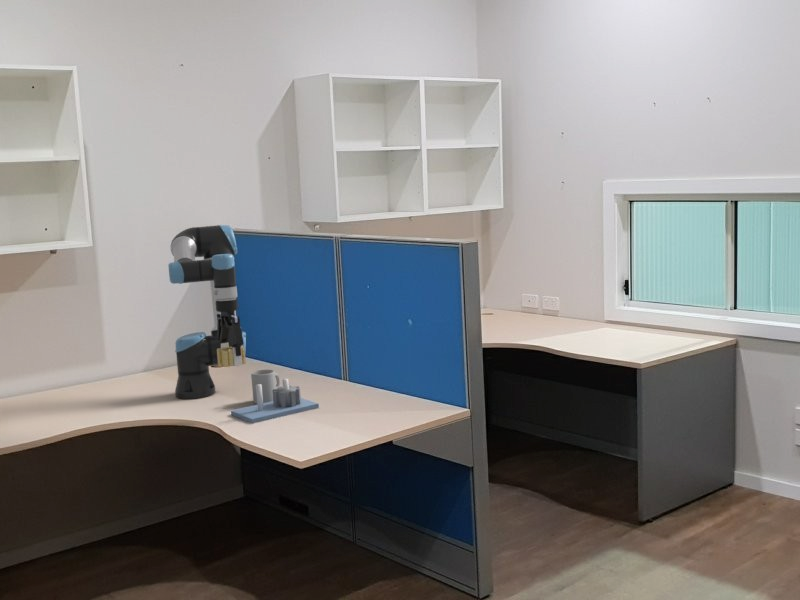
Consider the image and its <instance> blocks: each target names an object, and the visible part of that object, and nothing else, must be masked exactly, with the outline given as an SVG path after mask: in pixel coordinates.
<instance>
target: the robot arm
mask: <svg viewBox="0 0 800 600" xmlns="http://www.w3.org/2000/svg"><path fill="white" fill-rule="evenodd" d="M170 242H171V243H170V252H171V255H172V256H173V262H169V264H168V275H169V282H170V283H171V284H173V285H174V284H180V285H181V284H189V283H198V282H209V283H210V291H211V292H210V293H211V303H212V313H213V323H214V326H213V328H212V329H211V330H210V333H211V335H207V333H206V332H205V331H204V332H203V331H200V332H199V331H197V332H193V333H189V334H185V335H182V336H180V337H178V338H177V339H176V341H175V350H174V351H175V354H176V365H177V375H178V376H177V381H176V385H175V390H174V393H175V394H174V395H175V398H176V399H183V400H190V399H191V400H192V399H201V398H205V397H209V396H212V395H214V394H215V393H216V385H215V383H214V380H213V379H212V376H211V374H210V368H209V367H213V366H218V358H217V349H218V348H223V347H233V357H234V366H233V367H238V365H239V366H242V365H243V364H242V354H241V346H244V348H245V352H246V350H247V349H246V348H247V347H246V346H247V345H246V344H247V341H246V340H247V333H246V331H242V330H243V329H242V327H241V323H240V322H241V321H240V316H239V315H237V311H238V309H239V301H238V300H239V299H237V298H238V288H237V279H236V266H235V265H236V263H235V255H237V254H238V246H237V241H236V236H235V233H234V230H233V228H232V226H230V225H220V224H217V225H209V226H207V225H205V226H198V227H197V226H196V227H195V226H193V227H190V228H189V227H188V228H185V229H183V230H182V231H180V232H179V233H177V234H176V235H175V236H174V237H173V239H172V240H171V241H170ZM196 258H203V259H198V260H197V259H196Z"/></svg>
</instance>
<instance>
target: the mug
mask: <svg viewBox="0 0 800 600" xmlns="http://www.w3.org/2000/svg"><path fill="white" fill-rule="evenodd" d="M250 377H251V388H252V399H253V400H252V401H253V404H254V405H257V394H256V385H258V384H261V385H262V395H263V403H267V402H272V401H273V391H272V390H273V389H277V388H278V387H281V380H280V379H281V378H280V376H279V374H278V373H276V372H275V370H273V369H260V370H254V371H252V372H251V374H250Z"/></svg>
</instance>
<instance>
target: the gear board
mask: <svg viewBox="0 0 800 600" xmlns="http://www.w3.org/2000/svg"><path fill="white" fill-rule="evenodd" d="M289 384H290V383H289V378H283V379H282V386H280V387H278V388H277V389H273V390H272V391H273V401H272V402H267V403H263V395H262V385H261V384H258V385H256V394H257V404H254V405H250V406H245V407H240V408H237V409H231V410H230V415H231V416H232V417H236V418H239V419H241V420H244V421H245V422H248V423H251V424H255V423H260V422H265V421H269V420H273V419H277V417H278V418H281V416H282V417H285V416H290V415H293V414H297V413H302V412H307V411H311V410H315V409H320V406H319V402H315V401H311V400H309V399H306V398H303V397H301V388H300V386H298V385H297V386H292V385H289ZM272 418H273V419H272Z"/></svg>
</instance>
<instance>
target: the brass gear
mask: <svg viewBox="0 0 800 600" xmlns="http://www.w3.org/2000/svg"><path fill="white" fill-rule="evenodd" d="M241 354H242V365H246V363H247V360H246V351H245V348H244V346H241ZM217 358H218V365H217V366H218V367H224V368H229V367H235V366H234V357H233V347H223V348H218V349H217ZM238 366H239V367H240V365H238ZM238 366H237V367H238Z"/></svg>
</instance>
